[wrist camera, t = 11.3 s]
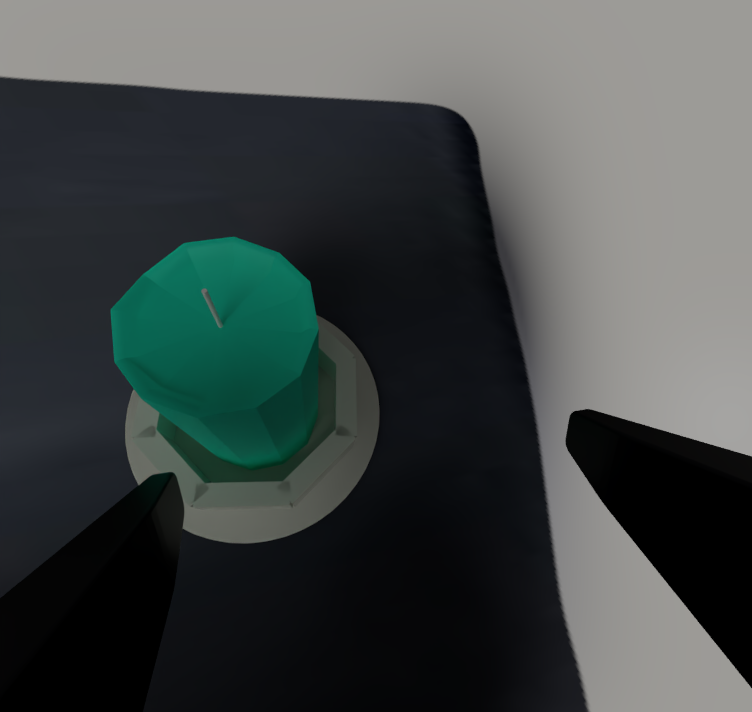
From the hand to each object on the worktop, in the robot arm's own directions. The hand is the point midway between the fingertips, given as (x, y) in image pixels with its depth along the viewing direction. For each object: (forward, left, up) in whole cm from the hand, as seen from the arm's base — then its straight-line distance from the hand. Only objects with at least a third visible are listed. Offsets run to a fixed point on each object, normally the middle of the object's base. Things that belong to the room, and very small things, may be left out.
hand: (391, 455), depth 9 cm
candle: (+4, +5, -13) cm, 14 cm away
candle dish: (+5, +5, -14) cm, 15 cm away
